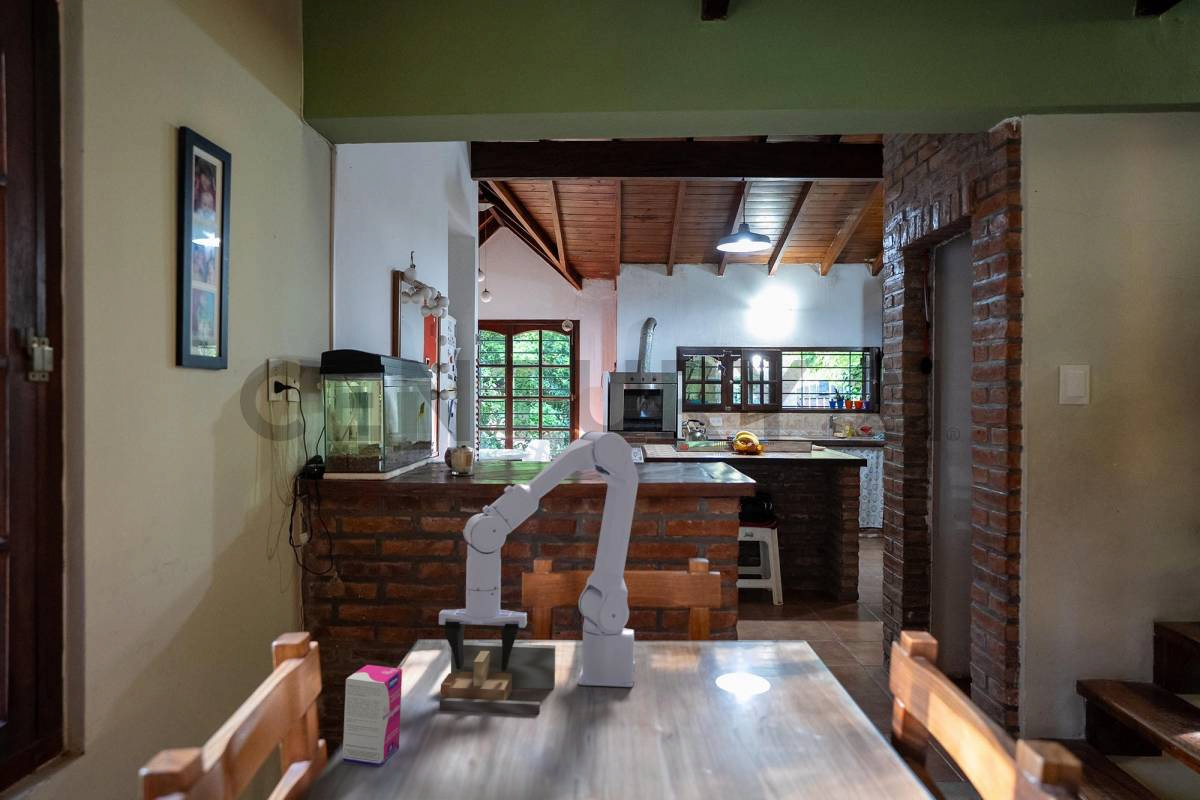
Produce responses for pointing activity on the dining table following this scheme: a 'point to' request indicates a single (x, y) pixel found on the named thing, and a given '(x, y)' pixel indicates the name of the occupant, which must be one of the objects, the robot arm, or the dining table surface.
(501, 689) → the tan box with handle
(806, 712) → the dining table surface
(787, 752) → the dining table surface
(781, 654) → the dining table surface
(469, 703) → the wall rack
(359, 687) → the supplement box
